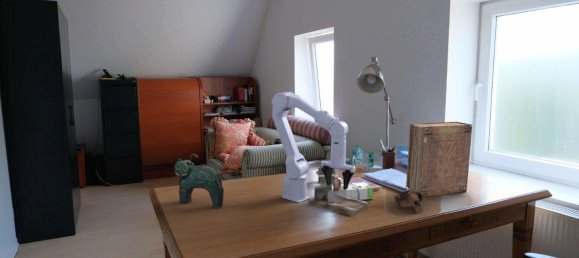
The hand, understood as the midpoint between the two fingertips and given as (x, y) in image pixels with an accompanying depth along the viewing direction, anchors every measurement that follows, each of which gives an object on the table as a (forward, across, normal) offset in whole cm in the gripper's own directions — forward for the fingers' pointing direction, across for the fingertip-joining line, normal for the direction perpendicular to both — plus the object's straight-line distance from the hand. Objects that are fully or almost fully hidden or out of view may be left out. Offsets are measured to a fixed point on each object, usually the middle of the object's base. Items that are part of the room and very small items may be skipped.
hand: (337, 186), depth 148 cm
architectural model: (+8, +20, -22) cm, 30 cm away
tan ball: (+4, +3, 0) cm, 5 cm away
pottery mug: (+8, -23, -16) cm, 29 cm away
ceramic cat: (+8, +41, +34) cm, 54 cm away
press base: (+7, 0, 0) cm, 7 cm away
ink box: (+5, -4, -18) cm, 19 cm away
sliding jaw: (+6, 0, 0) cm, 6 cm away
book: (+8, -24, -44) cm, 50 cm away
